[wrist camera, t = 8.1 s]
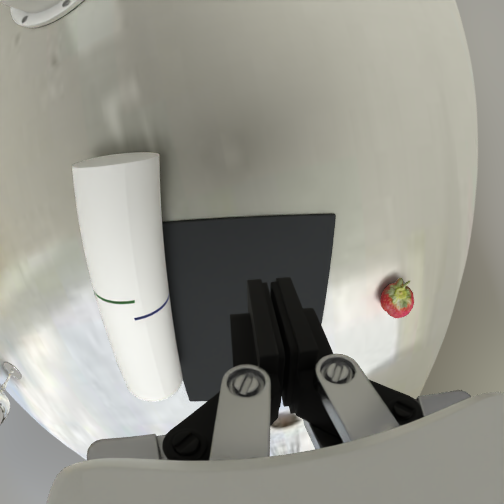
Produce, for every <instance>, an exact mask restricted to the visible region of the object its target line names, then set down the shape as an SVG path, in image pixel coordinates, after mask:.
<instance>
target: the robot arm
mask: <svg viewBox="0 0 504 504" xmlns="http://www.w3.org/2000/svg"><path fill="white" fill-rule="evenodd" d="M82 1H83V0H0V4H3V5H6V6H9V7H11V9H10V10H11V16H12V18H13V21H14V22H16V23H17V24H18V25H20V26H23V27H28V28H37V27H41V26H44V25H47V24H49V23H52V22H54V21H56V20H57V19H59V18H61V17H63V16H64V15H66V14H67V13H68V12H70V11H71V10H73V9H74V8H75V7H76V6H77V5H79V4H80V3H81V2H82ZM247 303H248V313H244V314H230V325H231V342H232V357H233V368H231V369H230V370H228V371H227V372H226V373H225V375H224V376H223V379H222V383H221V389H220V391H219V392H218V393H217V394H216V395H215V396H213V397H212V398H211V399H210V400H209V401H207V402H206V403H205V404H204V405H202V406H201V407H200V408H199V409H197V410H196V411H195V412H194V413H192V414H191V415H190V416H188V417H187V418H186V419H185V420H183V421H182V422H181V423H179V424H178V425H177V426H175V427H174V428H173V429H172V430H170V431H169V432H168V433H167V434H166V435H161V436H156V434H150V435H142V436H133V437H123V438H111V439H101V440H97V441H95V442H94V443H92V444H91V445H90V447H89V448H88V452H87V461H83V462H78V463H75V464H73V465H70V466H68V467H66V468H64V469H63V470H61V472H60V473H59V474H58V475H57V477H56V479H55V480H54V482H53V485H52V487H51V490H50V493H49V496H48V500H47V504H504V392H490V393H484V394H480V395H476V396H473V397H471V396H470V395H469V394H468V393H467V392H465V391H462V390H457V391H450V392H445V393H438V394H432V395H424V396H418V398H417V399H414V398H412V397H410V396H408V395H406V394H403V393H400V392H398V391H395V390H393V389H390V388H388V387H385V386H383V385H381V384H378V383H376V382H373V381H371V380H369V379H368V378H367V377H366V375H365V374H364V372H363V371H362V369H361V368H360V367H359V365H358V364H357V363H356V362H355V361H354V359H352V358H350V357H349V356H346V355H343V354H333V352H332V350H331V347H330V345H329V343H328V340H327V338H326V336H325V333H324V331H323V329H322V326H321V324H320V322H319V319H318V317H317V315H316V313H315V311H314V309H313V308H302V305H301V302H300V300H299V297H298V295H297V292H296V290H295V287H294V285H293V282H292V280H291V278H290V277H282V278H276V280H275V282H271V284H270V292H269V288H268V284H267V282H263V283H262V280H261V279H253V280H247ZM281 396H282V400H283V405H284V407H285V406H289V408H290V413H296V415H297V416H298V417H300V418H302V419H304V420H303V421H304V425H305V427H306V430H307V432H308V434H309V436H310V438H311V441H312V443H313V445H314V447H315V450H310V451H305V452H299V453H293V454H286V455H279V456H271V457H269V456H270V426H271V425H272V424H273V422H274V421H275V420H276V419H277V418H278V412H279V407H280V403H281Z"/></svg>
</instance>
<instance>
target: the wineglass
mask: <svg viewBox="0 0 504 504" xmlns="http://www.w3.org/2000/svg"><path fill="white" fill-rule="evenodd" d="M3 365H4V368H5V369H6V371H7V372H8V373H9V375H8V377H7V379H6V381H5V382H4V384H3V385H2V386H1V390H0V425H1V424H2V423H3V422H4V420H5V419H6V417H7V416H8V413H9V410H10V403H9V400H8V398H7V397H6V395H5V394H4V393H3V391H5V390H6V385H7V382H8V380H9V379H10V377H11V376H13V377H15V378H17V379H21V374H20V372H19V371H18V370H17V369H16V368H15V367H14V366H13V365H11V364H9V363H7V362H5V363H4V364H3Z"/></svg>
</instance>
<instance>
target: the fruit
mask: <svg viewBox="0 0 504 504" xmlns="http://www.w3.org/2000/svg"><path fill="white" fill-rule="evenodd" d="M408 283H410V281H408V282H406V283H405V284H403V280H402V278H399V279H398V280H397V281H396V283H392V284H389V285H388V286H387V287H386V288H385V289H384V290H383V292H382V294H381V306H382V308H383V309H384V310H385V311H387V313H388V314H389V315H390V316H392V317H394V318H401V317H404V316H406V315H408V314H409V312H410V311H411V309H412V308H413V305H414V298H413V292H412V291H411V289H410V288H409V287H408V286H406V285H407V284H408Z"/></svg>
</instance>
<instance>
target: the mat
mask: <svg viewBox="0 0 504 504" xmlns="http://www.w3.org/2000/svg"><path fill="white" fill-rule="evenodd" d="M335 217H336V215H335V214H308V215H279V216H256V217H236V218H218V219H202V220H187V221H173V222H162V228H163V241H164V251H165V262H166V271H167V280H168V288H169V296H170V304H171V311H172V318H173V325H174V332H175V338H176V344H177V350H178V355H179V361H180V366H181V371H182V378H183V381H184V384H185V388H186V391H187V394H188V397H189V400H190V401H209V400H210V399H211V398H212V397H213V396H215V395H216V394H217V393H218V392H219V391H220V389H221V383H222V379H223V376H224V375H225V373H226V372H227V371H228V370H230V369H231V368H233V357H232V342H231V325H230V314H244V313H248V303H247V280H253V279H261V280H262V283H263V282H267V284H268V288H269V292H270V284H271V282H275V280H276V278H282V277H290V278H291V280H292V282H293V285H294V287H295V290H296V292H297V295H298V297H299V300H300V302H301V305H302V308H313V309H314V311H315V313H316V315H317V317H318V319H319V322H320V324H321V323H322V317H323V311H324V305H325V298H326V292H327V285H328V278H329V270H330V263H331V255H332V246H333V237H334V228H335Z"/></svg>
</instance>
